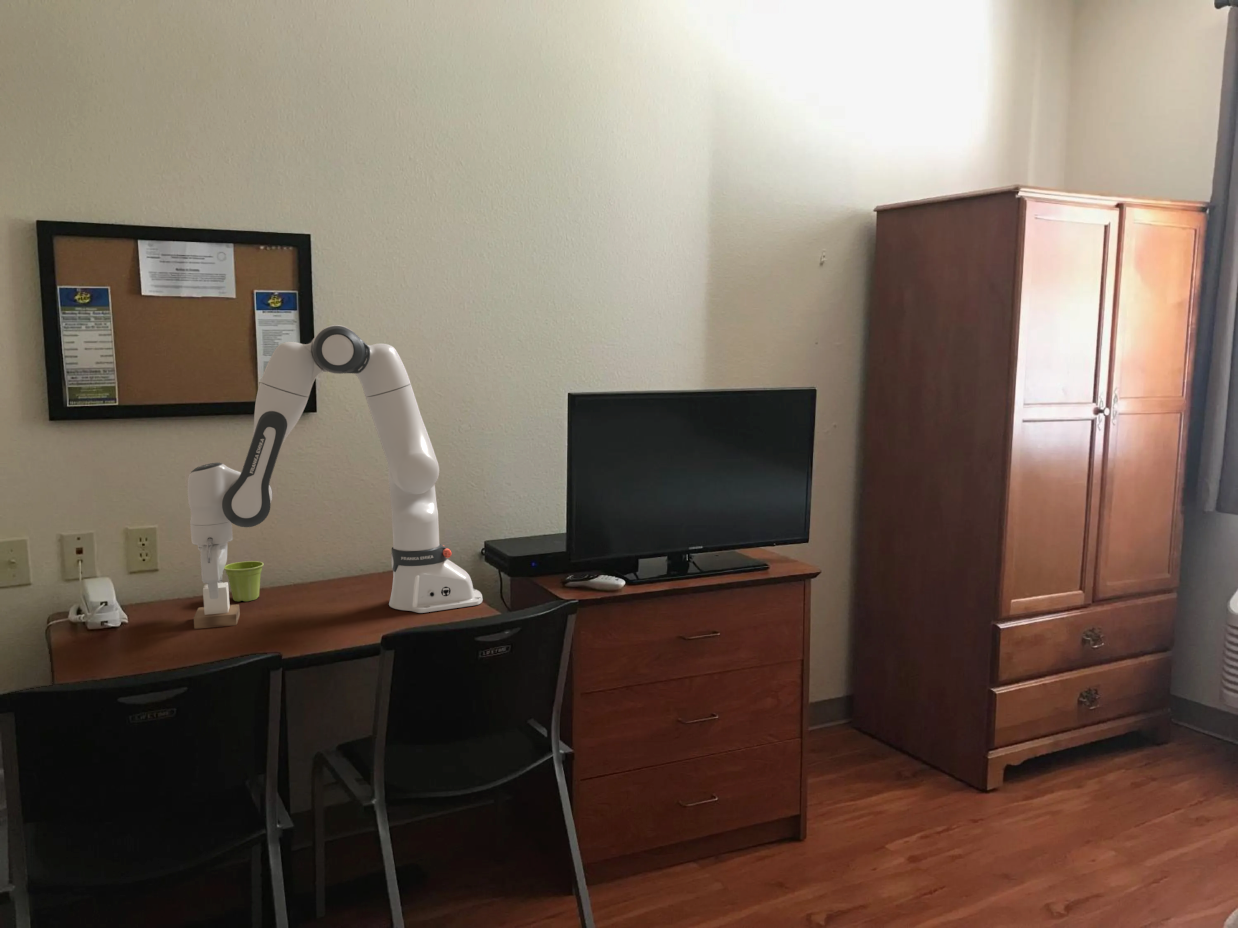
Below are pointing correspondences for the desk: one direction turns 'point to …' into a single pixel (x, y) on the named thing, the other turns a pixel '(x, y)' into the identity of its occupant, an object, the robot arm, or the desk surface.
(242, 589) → the plant pot
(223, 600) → the white block
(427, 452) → the robot arm
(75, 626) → the desk surface
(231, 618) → the walnut slab
